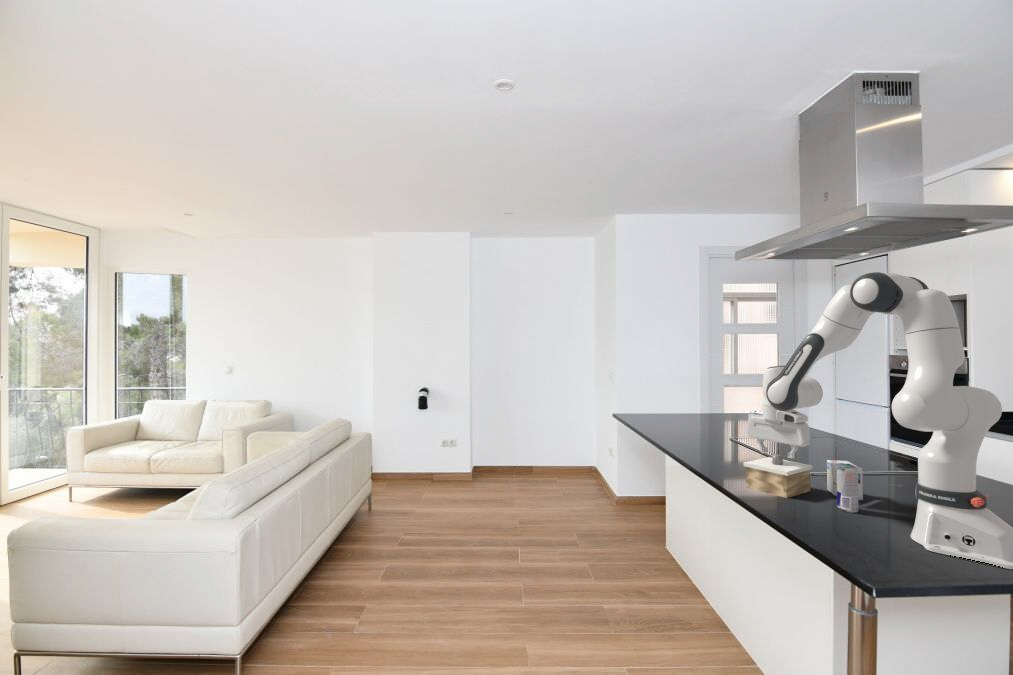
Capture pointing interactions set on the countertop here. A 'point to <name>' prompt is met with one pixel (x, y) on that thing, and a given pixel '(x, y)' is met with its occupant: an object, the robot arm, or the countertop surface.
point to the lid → (778, 465)
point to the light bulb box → (832, 476)
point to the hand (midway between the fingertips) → (777, 455)
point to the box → (778, 482)
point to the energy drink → (847, 489)
